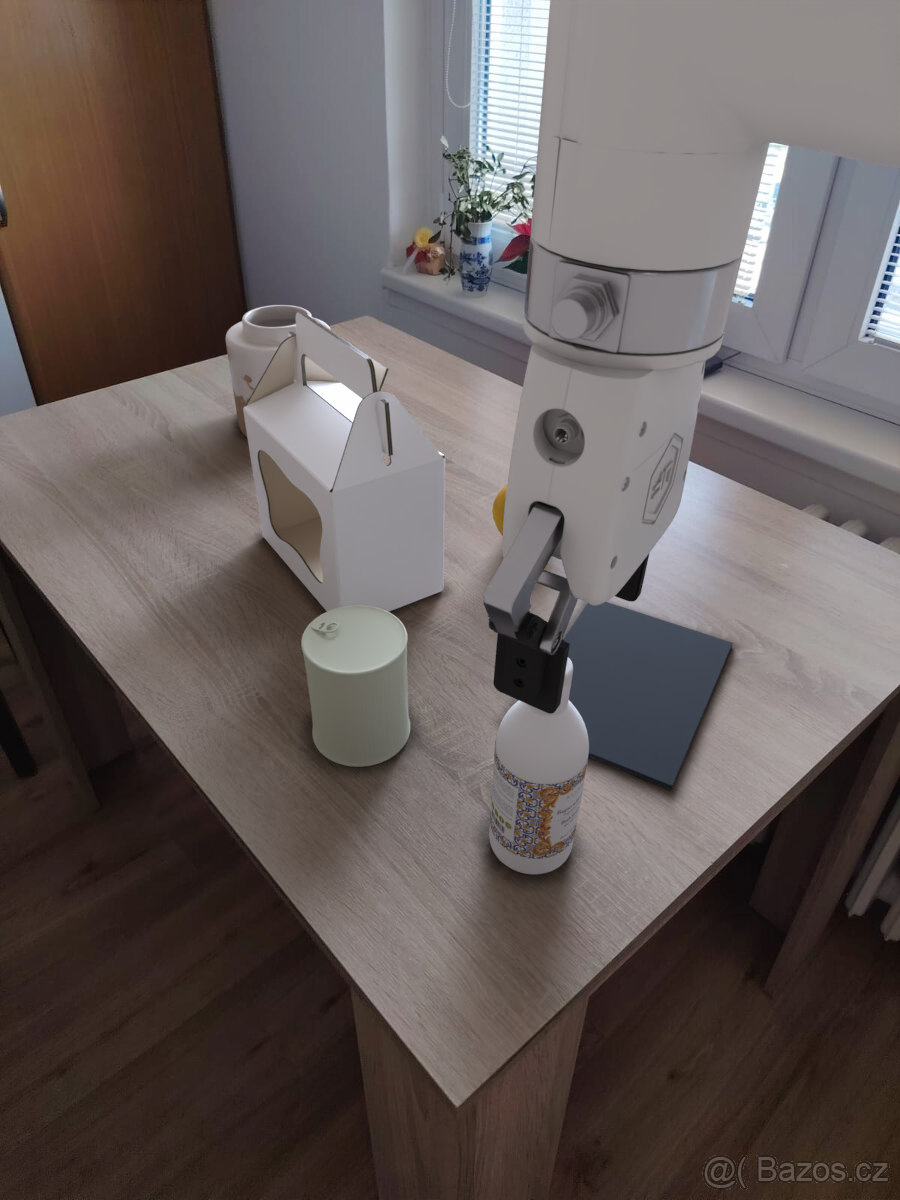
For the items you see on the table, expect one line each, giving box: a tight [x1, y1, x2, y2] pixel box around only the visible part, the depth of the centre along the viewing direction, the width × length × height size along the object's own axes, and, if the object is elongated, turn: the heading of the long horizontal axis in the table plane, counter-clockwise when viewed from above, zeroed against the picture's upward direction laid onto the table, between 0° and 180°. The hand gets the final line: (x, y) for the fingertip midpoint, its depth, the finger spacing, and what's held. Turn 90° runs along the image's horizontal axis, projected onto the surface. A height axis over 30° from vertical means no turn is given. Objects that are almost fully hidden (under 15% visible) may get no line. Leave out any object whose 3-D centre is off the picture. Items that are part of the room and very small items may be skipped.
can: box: [300, 605, 411, 768], centre depth 74 cm, size 9×9×12 cm
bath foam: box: [488, 658, 590, 875], centre depth 62 cm, size 7×7×20 cm
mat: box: [563, 601, 734, 791], centre depth 83 cm, size 22×16×1 cm
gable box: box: [243, 312, 446, 613], centre depth 91 cm, size 22×13×28 cm, turn 33°
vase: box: [225, 304, 331, 438], centre depth 123 cm, size 15×15×17 cm
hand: (571, 640), depth 41 cm, fingers open, 9 cm apart
